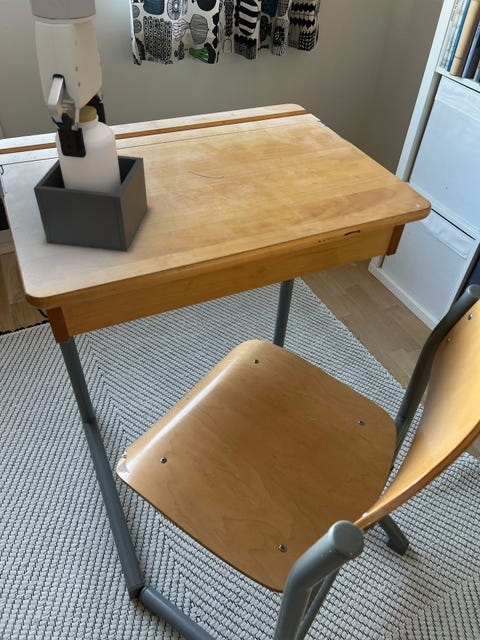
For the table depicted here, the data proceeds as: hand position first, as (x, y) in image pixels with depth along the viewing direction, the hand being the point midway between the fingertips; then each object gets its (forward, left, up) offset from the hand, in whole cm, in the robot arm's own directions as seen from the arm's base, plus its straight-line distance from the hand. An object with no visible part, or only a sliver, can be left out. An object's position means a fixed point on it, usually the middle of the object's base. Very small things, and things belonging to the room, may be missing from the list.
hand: (85, 141), depth 74 cm
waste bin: (0, 0, -14) cm, 14 cm away
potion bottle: (0, 0, -14) cm, 14 cm away
